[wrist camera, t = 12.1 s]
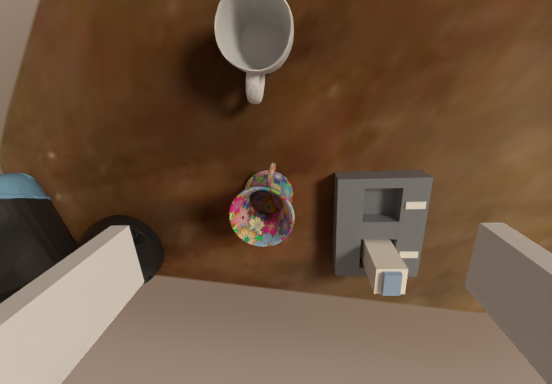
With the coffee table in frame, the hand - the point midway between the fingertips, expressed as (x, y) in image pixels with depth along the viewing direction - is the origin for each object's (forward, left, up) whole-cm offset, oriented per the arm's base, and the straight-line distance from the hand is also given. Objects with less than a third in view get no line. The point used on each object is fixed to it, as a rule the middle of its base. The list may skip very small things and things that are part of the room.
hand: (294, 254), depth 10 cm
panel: (+13, -16, -35) cm, 40 cm away
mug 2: (-5, -9, -35) cm, 36 cm away
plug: (+13, -21, -34) cm, 42 cm away
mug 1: (-5, +11, -35) cm, 37 cm away
